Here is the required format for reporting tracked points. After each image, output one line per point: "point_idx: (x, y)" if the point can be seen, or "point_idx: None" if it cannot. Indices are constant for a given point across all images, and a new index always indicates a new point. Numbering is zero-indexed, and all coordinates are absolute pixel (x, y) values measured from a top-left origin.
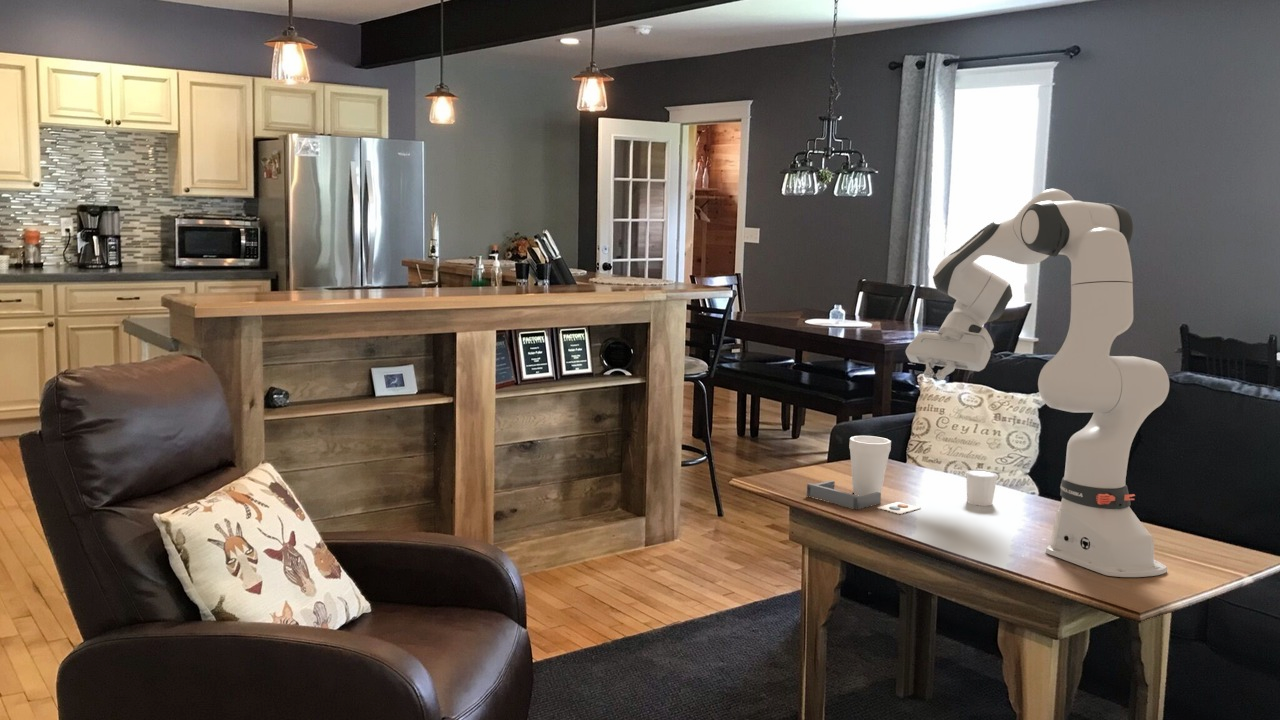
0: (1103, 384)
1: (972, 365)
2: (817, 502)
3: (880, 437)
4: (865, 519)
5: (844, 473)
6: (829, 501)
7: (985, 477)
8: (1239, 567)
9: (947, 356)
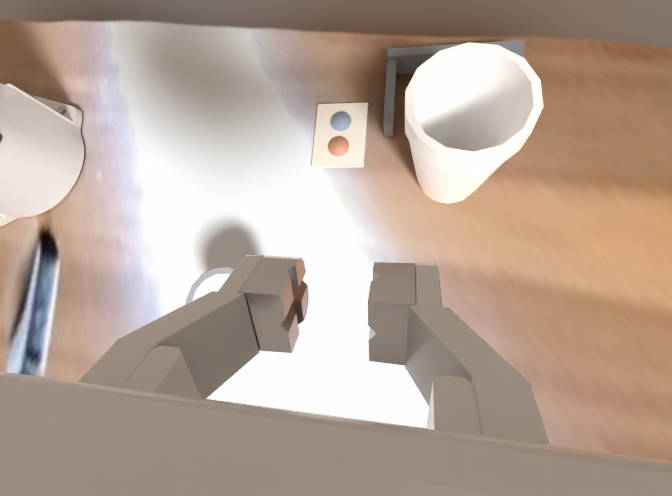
0: None
1: None
2: None
3: (475, 156)
4: (344, 38)
5: (627, 306)
6: None
7: (201, 275)
8: None
9: (97, 417)
